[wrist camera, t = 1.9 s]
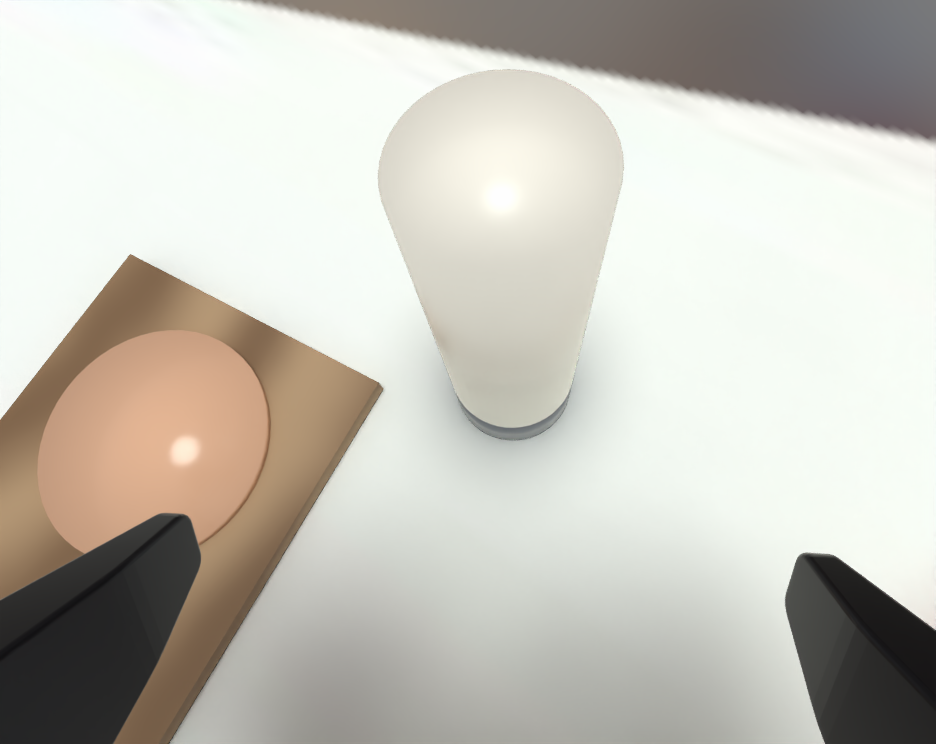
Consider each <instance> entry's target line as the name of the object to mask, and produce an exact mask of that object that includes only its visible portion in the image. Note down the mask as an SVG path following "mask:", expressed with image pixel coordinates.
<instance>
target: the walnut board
mask: <svg viewBox="0 0 936 744" xmlns="http://www.w3.org/2000/svg"><path fill="white" fill-rule="evenodd" d="M166 330H184V331H192V332H197V333H201V334H204V335H208V336H210V337H213V338H215V339H217V340H219V341H221V342H223V343H224V344H226V345H227V346H229V347H231V348H232V349H233V350H235V351H236V352H237V353H238V354H239V355H240V356H242V357H243V358H244V359H245V360H246V361H247V362H248V363H249V365H250V366H251V367H252V368H253V370H254V371H255V373H256V374H257V376H258V378H259V379H260V381H261V383H262V386H263V388H264V391H265V393H266V397H267V401H268V405H269V411H270V420H271V428H270V441H269V448H268V453H267V457H266V460H265V464H264V467H263V470H262V472H261V474H260V477H259V479H258V482H257V484H256V485H255V487H254V489H253V491H252V493H251V494H250V496H249V498H248V499H247V501H246V502H245V503H244V505H243V506H242V508H241V509H240V510H239V512H238V513H237V514H236V515H235V516H234V517H233V518H232V519H231V520H230V522H229V523H228V524H227V525H226V526H224V527H223V528H222V529H221V530H220V531H219V532H218V533H216V534H215V535H214V536H213V537H211V538H210V539H208V540H207V541H205V542H204V543H203V544H201V545H199V548H200V551H201V564H200V568H199V571H198V573H197V576H196V578H195V580H194V583H193V585H192V587H191V589H190V592H189V594H188V596H187V599H186V601H185V603H184V605H183V608H182V610H181V612H180V615H179V617H178V619H177V621H176V624H175V626H174V628H173V631H172V633H171V635H170V638H169V640H168V642H167V644H166V647H165V649H164V651H163V653H162V655H161V657H160V659H159V661H158V664H157V665H156V667H155V669H154V671H153V673H152V675H151V677H150V679H149V681H148V682H147V684H146V686H145V688H144V690H143V691H142V693H141V695H140V697H139V699H138V700H137V702H136V704H135V706H134V708H133V709H132V711H131V713H130V715H129V717H128V718H127V720H126V722H125V724H124V726H123V727H122V729H121V731H120V733H119V735H118V736H117V738H116V740H115V742H114V744H169V742H170V740H171V739H172V737H173V735H174V734H175V732H176V730H177V729H178V727H179V725H180V724H181V722H182V720H183V719H184V717H185V715H186V714H187V712H188V711H189V709H190V707H191V706H192V704H193V702H194V701H195V699H196V697H197V696H198V694H199V692H200V691H201V689H202V687H203V686H204V684H205V682H206V681H207V679H208V678H209V676H210V674H211V673H212V671H213V669H214V668H215V666H216V664H217V663H218V661H219V659H220V658H221V656H222V654H223V653H224V651H225V649H226V648H227V646H228V645H229V643H230V641H231V640H232V638H233V636H234V635H235V633H236V631H237V630H238V628H239V626H240V625H241V623H242V621H243V620H244V618H245V616H246V615H247V613H248V611H249V610H250V608H251V607H252V605H253V603H254V602H255V600H256V598H257V597H258V595H259V593H260V592H261V590H262V588H263V587H264V585H265V583H266V582H267V580H268V578H269V577H270V575H271V574H272V572H273V570H274V569H275V567H276V565H277V564H278V562H279V560H280V559H281V557H282V555H283V554H284V552H285V550H286V549H287V547H288V545H289V544H290V542H291V541H292V539H293V537H294V536H295V534H296V532H297V531H298V529H299V527H300V526H301V524H302V522H303V521H304V519H305V517H306V516H307V514H308V512H309V511H310V509H311V507H312V506H313V504H314V503H315V501H316V499H317V498H318V496H319V494H320V493H321V491H322V489H323V488H324V486H325V484H326V483H327V481H328V479H329V478H330V476H331V474H332V473H333V471H334V470H335V468H336V466H337V465H338V463H339V461H340V460H341V458H342V456H343V455H344V453H345V451H346V450H347V448H348V446H349V445H350V443H351V441H352V440H353V438H354V437H355V435H356V433H357V432H358V430H359V428H360V427H361V425H362V423H363V422H364V420H365V418H366V417H367V415H368V413H369V412H370V410H371V408H372V407H373V405H374V403H375V402H376V400H377V399H378V397H379V395H380V394H381V392H382V390H383V388H382V386H381V385H380V384H379V383H378V382H376V381H374V380H372V379H370V378H368V377H367V376H365V375H363V374H361V373H359V372H357V371H355V370H353V369H351V368H349V367H347V366H345V365H343V364H341V363H340V362H338V361H336V360H334V359H332V358H330V357H328V356H326V355H324V354H322V353H320V352H318V351H316V350H314V349H312V348H311V347H309V346H307V345H305V344H303V343H301V342H299V341H297V340H295V339H293V338H291V337H289V336H287V335H285V334H283V333H282V332H280V331H278V330H276V329H274V328H272V327H270V326H268V325H266V324H264V323H262V322H260V321H258V320H256V319H255V318H253V317H251V316H249V315H247V314H245V313H243V312H241V311H239V310H237V309H235V308H233V307H231V306H229V305H227V304H226V303H224V302H222V301H220V300H218V299H216V298H214V297H212V296H210V295H208V294H206V293H204V292H202V291H200V290H198V289H197V288H195V287H193V286H191V285H189V284H187V283H185V282H183V281H181V280H179V279H177V278H175V277H173V276H171V275H169V274H168V273H166V272H164V271H162V270H160V269H158V268H156V267H154V266H152V265H150V264H148V263H146V262H144V261H142V260H141V259H139V258H137V257H135V256H133V255H131V254H130V255H129V256H128V258H127V259H126V260H125V261H124V263H123V264H122V265H121V267H120V268H119V269H118V270H117V272H116V273H115V274H114V275H113V277H112V278H111V279H110V281H109V282H108V283H107V284H106V286H105V287H104V288H103V290H102V291H101V292H100V293H99V295H98V296H97V297H96V298H95V300H94V301H93V302H92V304H91V305H90V306H89V307H88V309H87V310H86V311H85V313H84V314H83V315H82V316H81V318H80V319H79V320H78V321H77V323H76V324H75V325H74V327H73V328H72V329H71V330H70V332H69V333H68V334H67V335H66V337H65V338H64V339H63V341H62V342H61V343H60V344H59V346H58V347H57V348H56V350H55V351H54V352H53V353H52V355H51V356H50V357H49V358H48V360H47V361H46V362H45V364H44V365H43V366H42V367H41V369H40V370H39V371H38V373H37V374H36V375H35V376H34V378H33V379H32V380H31V381H30V383H29V384H28V385H27V387H26V388H25V389H24V390H23V392H22V393H21V394H20V395H19V397H18V398H17V399H16V401H15V402H14V403H13V404H12V406H11V407H10V408H9V410H8V411H7V412H6V413H5V415H4V416H3V417H2V418H1V420H0V600H1V599H2V598H4V597H6V596H8V595H10V594H12V593H13V592H15V591H17V590H19V589H21V588H23V587H25V586H26V585H28V584H30V583H32V582H34V581H36V580H37V579H39V578H41V577H43V576H45V575H47V574H48V573H50V572H52V571H54V570H56V569H58V568H59V567H61V566H63V565H65V564H67V563H69V562H71V561H72V560H74V559H76V558H78V557H80V556H82V555H83V554H84V553H83V552H81V551H79V550H78V549H76V548H74V547H73V546H72V545H71V544H69V543H68V542H67V541H66V540H65V539H64V538H63V537H62V536H61V535H60V534H59V533H58V531H57V530H56V529H55V528H54V526H53V524H52V523H51V521H50V519H49V518H48V516H47V514H46V511H45V509H44V506H43V504H42V500H41V496H40V492H39V486H38V476H37V470H38V455H39V449H40V444H41V440H42V437H43V433H44V430H45V427H46V425H47V422H48V420H49V417H50V415H51V413H52V411H53V409H54V407H55V406H56V404H57V402H58V400H59V399H60V397H61V396H62V394H63V393H64V391H65V390H66V389H67V387H68V386H69V385H70V384H71V382H72V381H73V380H74V379H75V378H76V377H77V375H78V374H79V373H81V372H82V371H83V370H84V369H85V368H86V367H87V366H88V365H89V364H90V363H91V362H93V361H94V360H95V359H97V358H98V357H99V356H100V355H102V354H103V353H105V352H107V351H108V350H110V349H111V348H113V347H115V346H117V345H119V344H121V343H123V342H125V341H127V340H129V339H132V338H135V337H138V336H140V335H144V334H148V333H152V332H158V331H166Z"/></svg>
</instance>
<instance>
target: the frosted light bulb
mask: <svg viewBox="0 0 936 744" xmlns="http://www.w3.org/2000/svg"><path fill="white" fill-rule="evenodd" d="M623 171H624V163H623V152H622V148H621V143H620V140H619V137H618V135H617V132H616V129H615V128H614V126H613V124H612V122H611V121H610V119H609V117H608V116H607V115H606V114H605V112H604V111H603V110H602V109H601V107H600V106H599V105H598V104H597V103H596V102H595V101H593V100H592V99H591V98H590V97H589V96H588V95H586V94H585V93H584V92H582V91H581V90H579V89H578V88H576V87H574V86H572V85H571V84H569V83H567V82H565V81H562V80H560V79H557V78H555V77H552V76H549V75H545V74H541V73H537V72H531V71H525V70H511V69H507V70H491V71H484V72H478V73H474V74H470V75H466V76H463V77H460V78H457V79H454V80H451V81H449V82H447V83H445V84H443V85H441V86H439V87H437V88H435V89H434V90H432V91H430V92H429V93H427V94H426V95H424V96H423V97H422V98H420V99H419V100H418V101H417V102H415V103H414V104H413V105H412V106H411V107H410V108H409V109H408V110H407V111H406V112H405V113H404V114H403V115H402V116H401V118H400V119H399V120H398V122H397V123H396V124H395V126H394V127H393V129H392V131H391V132H390V134H389V136H388V138H387V140H386V142H385V145H384V147H383V150H382V154H381V157H380V161H379V170H378V186H379V192H380V197H381V201H382V204H383V207H384V209H385V212H386V215H387V217H388V220H389V223H390V225H391V228H392V230H393V233H394V235H395V238H396V241H397V243H398V246H399V248H400V251H401V253H402V256H403V259H404V261H405V264H406V266H407V269H408V271H409V274H410V277H411V279H412V282H413V284H414V287H415V289H416V292H417V295H418V297H419V300H420V302H421V305H422V307H423V310H424V313H425V315H426V318H427V320H428V323H429V325H430V328H431V331H432V333H433V336H434V338H435V341H436V343H437V346H438V349H439V351H440V354H441V356H442V359H443V361H444V364H445V367H446V369H447V372H448V374H449V377H450V379H451V382H452V385H453V387H454V390H455V392H456V395H457V397H458V400H459V403H460V405H461V408H462V410H463V411H464V413H465V415H466V416H467V418H468V419H469V420H470V421H471V422H472V423H473V424H474V425H475V426H476V427H477V428H478V429H480V430H481V431H483V432H484V433H486V434H488V435H491V436H493V437H496V438H500V439H505V440H521V439H527V438H531V437H533V436H536V435H538V434H540V433H542V432H544V431H545V430H547V429H548V428H550V427H551V426H552V425H553V424H554V423H555V422H556V421H557V420H558V418H559V417H560V416H561V414H562V413H563V411H564V409H565V407H566V404H567V401H568V398H569V394H570V390H571V386H572V382H573V378H574V374H575V370H576V366H577V362H578V358H579V354H580V350H581V346H582V342H583V338H584V334H585V330H586V326H587V322H588V318H589V314H590V310H591V306H592V302H593V298H594V294H595V290H596V286H597V282H598V278H599V274H600V270H601V266H602V262H603V258H604V254H605V250H606V245H607V241H608V237H609V233H610V229H611V225H612V221H613V217H614V213H615V209H616V205H617V201H618V197H619V193H620V189H621V185H622V180H623Z"/></svg>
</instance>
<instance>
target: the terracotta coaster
mask: <svg viewBox="0 0 936 744" xmlns="http://www.w3.org/2000/svg"><path fill="white" fill-rule="evenodd" d="M270 428H271V420H270V411H269V405H268V401H267V397H266V393H265V391H264V388H263V386H262V383H261V381H260V379H259V378H258V376H257V374H256V373H255V371H254V370H253V368H252V367H251V366H250V365H249V363H248V362H247V361H246V360H245V359H244V358H243V357H242V356H240V355H239V354H238V353H237V352H236V351H235V350H233V349H232V348H231V347H229V346H227V345H226V344H224V343H223V342H221V341H219V340H217V339H215V338H213V337H210V336H208V335H204V334H201V333H197V332H192V331H184V330H166V331H158V332H152V333H148V334H144V335H140V336H138V337H135V338H132V339H129V340H127V341H125V342H123V343H121V344H119V345H117V346H115V347H113V348H111V349H110V350H108V351H107V352H105V353H103V354H102V355H100V356H99V357H98V358H97V359H95V360H94V361H93V362H91V363H90V364H89V365H88V366H87V367H86V368H85V369H84V370H83V371H82V372H81V373H79V374H78V375H77V377H76V378H75V379H74V380H73V381H72V382H71V384H70V385H69V386H68V387H67V389H66V390H65V391H64V393H63V394H62V396H61V397H60V399H59V400H58V402H57V404H56V406H55V407H54V409H53V411H52V413H51V415H50V417H49V420H48V422H47V425H46V427H45V430H44V433H43V437H42V440H41V444H40V449H39V455H38V470H37V476H38V486H39V492H40V496H41V500H42V504H43V506H44V509H45V511H46V514H47V516H48V518H49V519H50V521H51V523H52V524H53V526H54V528H55V529H56V530H57V531H58V533H59V534H60V535H61V536H62V537H63V538H64V539H65V540H66V541H67V542H68V543H69V544H71V545H72V546H73V547H74V548H76V549H78V550H79V551H81V552H83V553H84V554H85V553H87V552H89V551H91V550H93V549H94V548H96V547H98V546H100V545H102V544H104V543H105V542H107V541H109V540H111V539H113V538H115V537H117V536H118V535H120V534H122V533H124V532H126V531H128V530H129V529H131V528H133V527H135V526H137V525H139V524H140V523H142V522H144V521H146V520H148V519H150V518H151V517H153V516H155V515H157V514H160V513H179V514H185V515H187V516H188V517H189V518H190V519H191V521H192V524H193V528H194V531H195V534H196V538H197V541H198V545H201V544H203V543H204V542H205V541H207V540H208V539H210V538H211V537H213V536H214V535H215V534H216V533H218V532H219V531H220V530H221V529H222V528H223V527H224V526H226V525H227V524H228V523H229V522H230V520H231V519H232V518H233V517H234V516H235V515H236V514H237V513H238V512H239V510H240V509H241V508H242V506H243V505H244V503H245V502H246V501H247V499H248V498H249V496H250V494H251V493H252V491H253V489H254V487H255V485H256V484H257V482H258V479H259V477H260V474H261V472H262V470H263V467H264V464H265V460H266V457H267V453H268V448H269V441H270Z"/></svg>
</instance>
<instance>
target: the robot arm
mask: <svg viewBox="0 0 936 744" xmlns="http://www.w3.org/2000/svg"><path fill="white" fill-rule="evenodd" d="M200 564H201V551H200V548H199V545H198V541H197V538H196V534H195V531H194V528H193V524H192V521H191V519H190V518H189V517H188V516H187V515H185V514H179V513H160V514H157V515H155V516H153V517H151V518H150V519H148V520H146V521H144V522H142V523H140V524H139V525H137V526H135V527H133V528H131V529H129V530H128V531H126V532H124V533H122V534H120V535H118V536H117V537H115V538H113V539H111V540H109V541H107V542H105V543H104V544H102V545H100V546H98V547H96V548H94V549H93V550H91V551H89V552H87V553H85V554H83V555H82V556H80V557H78V558H76V559H74V560H72V561H71V562H69V563H67V564H65V565H63V566H61V567H59V568H58V569H56V570H54V571H52V572H50V573H48V574H47V575H45V576H43V577H41V578H39V579H37V580H36V581H34V582H32V583H30V584H28V585H26V586H25V587H23V588H21V589H19V590H17V591H15V592H13V593H12V594H10V595H8V596H6V597H4V598H2V599H1V600H0V744H114V742H115V740H116V738H117V736H118V735H119V733H120V731H121V729H122V727H123V726H124V724H125V722H126V720H127V718H128V717H129V715H130V713H131V711H132V709H133V708H134V706H135V704H136V702H137V700H138V699H139V697H140V695H141V693H142V691H143V690H144V688H145V686H146V684H147V682H148V681H149V679H150V677H151V675H152V673H153V671H154V669H155V667H156V665H157V664H158V661H159V659H160V657H161V655H162V653H163V651H164V649H165V647H166V644H167V642H168V640H169V638H170V635H171V633H172V631H173V628H174V626H175V624H176V621H177V619H178V617H179V615H180V612H181V610H182V608H183V605H184V603H185V601H186V599H187V596H188V594H189V592H190V589H191V587H192V585H193V583H194V580H195V578H196V576H197V573H198V571H199V568H200ZM785 607H786V613H787V617H788V620H789V624H790V628H791V631H792V635H793V638H794V642H795V646H796V649H797V653H798V656H799V660H800V664H801V667H802V671H803V674H804V678H805V682H806V685H807V689H808V692H809V696H810V700H811V703H812V707H813V710H814V713H815V717H816V720H817V723H818V726H819V729H820V731H821V734H822V737H823V740H824V742H825V744H936V630H935V629H933V628H932V627H931V626H929V625H928V624H927V623H925V622H924V621H923V620H921V619H920V618H919V617H917V616H916V615H915V614H913V613H912V612H911V611H909V610H908V609H906V608H905V607H904V606H902V605H901V604H900V603H898V602H897V601H896V600H894V599H893V598H892V597H890V596H889V595H888V594H886V593H885V592H884V591H882V590H881V589H879V588H878V587H877V586H875V585H874V584H873V583H871V582H870V581H869V580H867V579H866V578H865V577H863V576H862V575H861V574H859V573H858V572H857V571H855V570H854V569H852V568H851V567H850V566H848V565H847V564H846V563H844V562H843V561H842V560H840V559H839V558H837V557H836V556H834V555H830V554H820V553H803V554H801V555H799V557H798V558H797V560H796V563H795V566H794V569H793V573H792V576H791V579H790V582H789V586H788V589H787V592H786V597H785Z"/></svg>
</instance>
